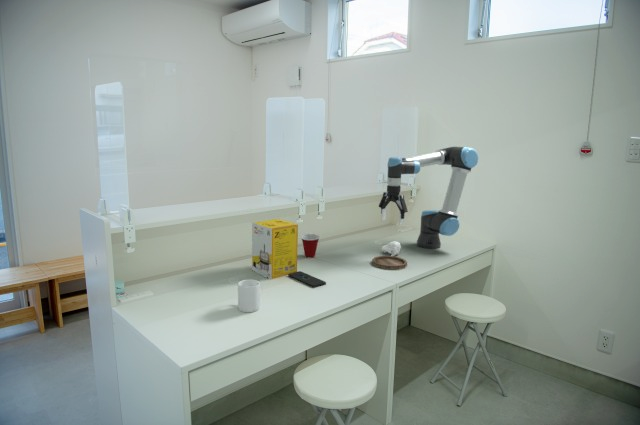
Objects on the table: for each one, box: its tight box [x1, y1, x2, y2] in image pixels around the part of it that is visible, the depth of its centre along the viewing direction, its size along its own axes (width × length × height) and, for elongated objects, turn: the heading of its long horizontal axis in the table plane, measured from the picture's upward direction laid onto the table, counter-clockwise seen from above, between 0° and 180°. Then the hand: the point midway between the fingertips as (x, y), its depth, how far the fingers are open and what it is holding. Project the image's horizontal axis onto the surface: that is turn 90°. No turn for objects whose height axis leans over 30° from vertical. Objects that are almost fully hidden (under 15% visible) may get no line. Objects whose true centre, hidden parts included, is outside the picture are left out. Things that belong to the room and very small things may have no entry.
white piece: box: [381, 240, 402, 257], centre depth 251 cm, size 6×8×12 cm
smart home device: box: [287, 270, 327, 289], centre depth 204 cm, size 8×2×20 cm
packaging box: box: [251, 218, 299, 280], centre depth 213 cm, size 16×16×25 cm
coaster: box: [371, 255, 408, 271], centre depth 233 cm, size 18×18×2 cm
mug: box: [237, 279, 261, 313], centre depth 171 cm, size 9×12×11 cm
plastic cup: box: [300, 233, 320, 259], centre depth 242 cm, size 11×11×12 cm
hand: (392, 222), depth 243 cm, fingers open, 13 cm apart
